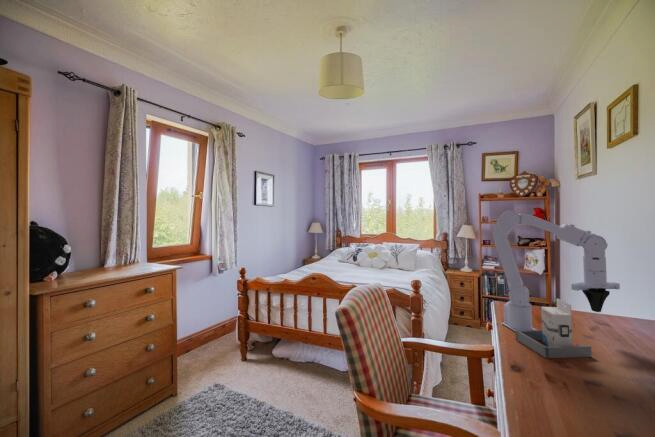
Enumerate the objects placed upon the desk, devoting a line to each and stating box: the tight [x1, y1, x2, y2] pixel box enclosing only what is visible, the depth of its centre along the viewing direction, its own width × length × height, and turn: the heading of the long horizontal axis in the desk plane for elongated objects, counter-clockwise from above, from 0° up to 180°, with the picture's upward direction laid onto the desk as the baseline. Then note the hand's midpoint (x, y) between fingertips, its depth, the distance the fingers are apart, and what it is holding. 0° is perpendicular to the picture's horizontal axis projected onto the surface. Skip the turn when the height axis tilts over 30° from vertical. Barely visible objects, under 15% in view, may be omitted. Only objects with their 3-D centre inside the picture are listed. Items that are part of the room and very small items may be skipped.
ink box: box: [540, 298, 573, 346], centre depth 96 cm, size 9×5×15 cm, turn 168°
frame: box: [515, 329, 593, 359], centre depth 96 cm, size 14×14×3 cm
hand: (596, 311), depth 101 cm, fingers closed
